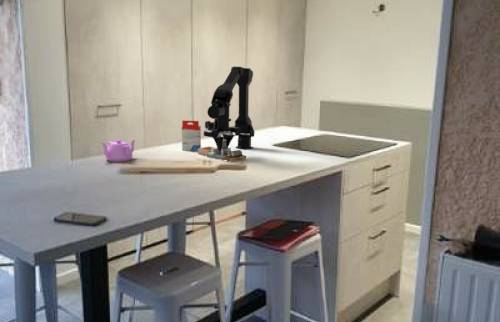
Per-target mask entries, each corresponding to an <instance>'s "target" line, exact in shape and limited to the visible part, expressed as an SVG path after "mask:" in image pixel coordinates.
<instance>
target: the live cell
mask: <svg viewBox="0 0 500 322" xmlns="http://www.w3.org/2000/svg"><path fill="white" fill-rule="evenodd" d="M242 155H243V152H242V150H241V149H237V150H231V151H229V152H227V154H226V157H228V158H235V157H240V156H242Z"/></svg>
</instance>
